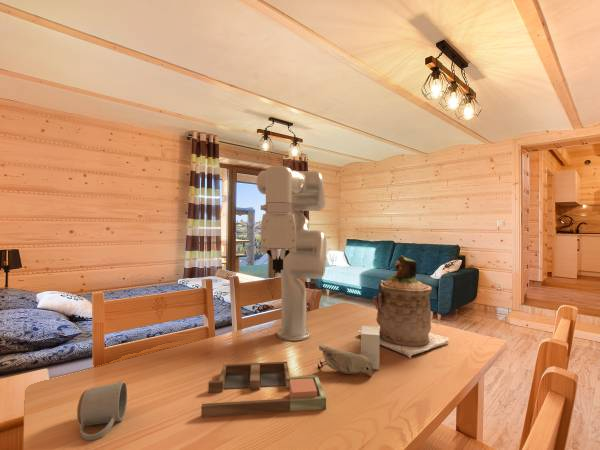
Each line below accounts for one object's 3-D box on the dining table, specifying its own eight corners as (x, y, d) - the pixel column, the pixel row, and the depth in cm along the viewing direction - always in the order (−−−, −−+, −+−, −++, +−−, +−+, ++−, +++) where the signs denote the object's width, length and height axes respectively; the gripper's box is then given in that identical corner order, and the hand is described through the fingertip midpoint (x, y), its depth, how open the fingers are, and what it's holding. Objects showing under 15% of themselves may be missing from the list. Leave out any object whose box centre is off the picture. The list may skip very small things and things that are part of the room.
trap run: (214, 373, 90) (214, 365, 90) (311, 368, 94) (311, 360, 94) (201, 417, 70) (201, 406, 70) (326, 408, 74) (326, 398, 74)
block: (289, 394, 80) (289, 379, 80) (312, 393, 81) (312, 378, 80) (291, 409, 74) (291, 392, 74) (316, 407, 75) (317, 391, 75)
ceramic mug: (87, 413, 71) (87, 380, 71) (127, 407, 74) (127, 375, 73) (68, 446, 61) (68, 408, 61) (116, 438, 63) (116, 401, 63)
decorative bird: (372, 382, 87) (372, 355, 86) (315, 374, 91) (315, 348, 91) (373, 373, 92) (373, 347, 92) (319, 365, 96) (319, 341, 96)
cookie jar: (452, 343, 114) (454, 256, 113) (410, 360, 100) (411, 260, 100) (396, 324, 134) (398, 250, 134) (355, 336, 121) (356, 253, 120)
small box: (379, 370, 93) (380, 335, 93) (360, 368, 94) (360, 333, 94) (378, 358, 101) (378, 326, 101) (360, 357, 102) (361, 324, 102)
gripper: (252, 208, 86) (251, 275, 86) (305, 209, 88) (305, 274, 88) (252, 209, 94) (252, 270, 94) (302, 210, 95) (301, 270, 96)
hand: (277, 272), depth 91 cm, fingers closed
